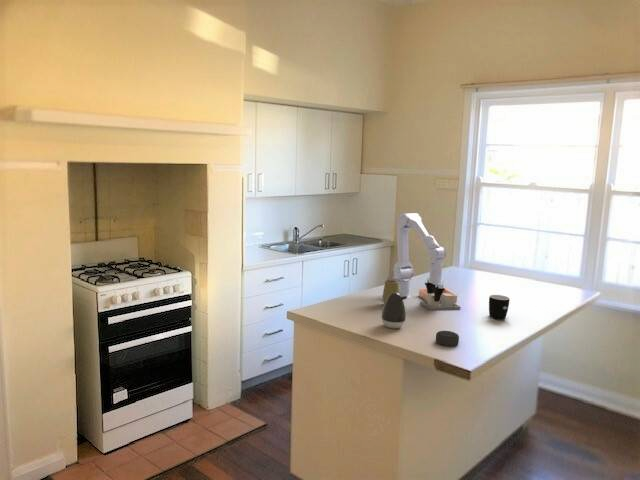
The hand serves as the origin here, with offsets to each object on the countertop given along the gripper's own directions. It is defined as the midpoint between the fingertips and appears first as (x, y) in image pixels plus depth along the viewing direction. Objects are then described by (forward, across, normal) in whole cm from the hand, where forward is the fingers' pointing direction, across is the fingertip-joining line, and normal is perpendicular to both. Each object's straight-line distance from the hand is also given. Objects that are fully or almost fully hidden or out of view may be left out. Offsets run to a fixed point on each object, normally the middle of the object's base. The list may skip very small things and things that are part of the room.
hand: (433, 299), depth 262 cm
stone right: (+4, 0, -8) cm, 8 cm away
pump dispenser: (+5, -27, +30) cm, 41 cm away
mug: (+5, -17, -26) cm, 31 cm away
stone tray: (+4, 0, -4) cm, 6 cm away
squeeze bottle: (+4, +5, +20) cm, 21 cm away
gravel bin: (+4, +14, -9) cm, 17 cm away
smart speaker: (+5, -48, +15) cm, 51 cm away
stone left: (+4, 0, 0) cm, 4 cm away
